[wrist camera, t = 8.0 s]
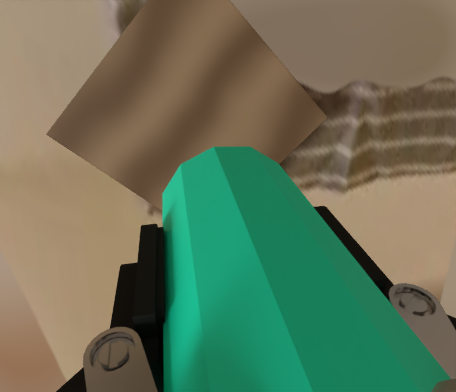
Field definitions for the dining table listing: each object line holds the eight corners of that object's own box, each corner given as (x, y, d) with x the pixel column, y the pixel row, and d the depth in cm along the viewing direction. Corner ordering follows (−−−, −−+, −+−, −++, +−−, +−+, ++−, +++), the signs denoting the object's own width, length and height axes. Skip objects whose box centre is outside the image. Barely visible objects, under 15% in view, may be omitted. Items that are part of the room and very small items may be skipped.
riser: (304, 103, 31) (327, 117, 27) (197, 210, 35) (202, 237, 31) (182, -40, 24) (186, -52, 20) (63, 116, 28) (46, 134, 24)
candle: (234, 114, 12) (598, 592, 2) (313, 203, 15) (630, 590, 5) (131, 210, 14) (37, 808, 3) (222, 275, 16) (323, 706, 6)
